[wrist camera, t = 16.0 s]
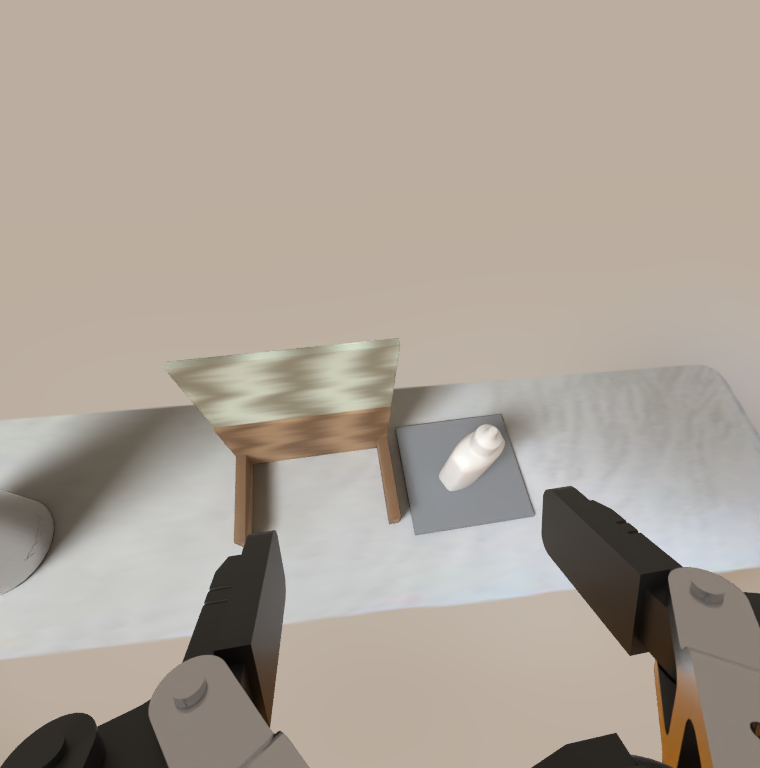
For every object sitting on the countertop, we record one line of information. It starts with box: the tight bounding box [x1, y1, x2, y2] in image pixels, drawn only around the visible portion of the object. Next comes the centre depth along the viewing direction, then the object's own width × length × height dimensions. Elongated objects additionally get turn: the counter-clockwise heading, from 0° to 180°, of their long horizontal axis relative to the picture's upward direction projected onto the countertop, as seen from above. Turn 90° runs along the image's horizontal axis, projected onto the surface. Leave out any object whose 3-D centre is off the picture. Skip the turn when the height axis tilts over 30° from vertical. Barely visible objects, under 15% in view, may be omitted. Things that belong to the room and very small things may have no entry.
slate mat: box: [395, 414, 535, 535], centre depth 44 cm, size 13×12×1 cm
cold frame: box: [165, 338, 401, 547], centre depth 34 cm, size 16×10×20 cm, turn 99°
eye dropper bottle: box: [439, 424, 505, 491], centre depth 38 cm, size 4×6×12 cm
